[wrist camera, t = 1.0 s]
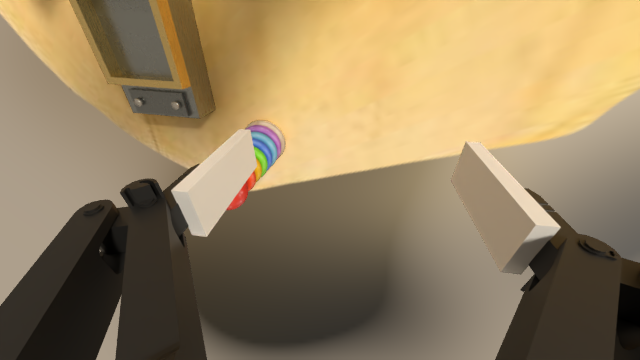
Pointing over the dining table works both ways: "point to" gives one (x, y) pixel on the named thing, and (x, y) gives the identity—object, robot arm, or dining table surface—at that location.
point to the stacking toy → (261, 155)
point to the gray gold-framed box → (149, 53)
